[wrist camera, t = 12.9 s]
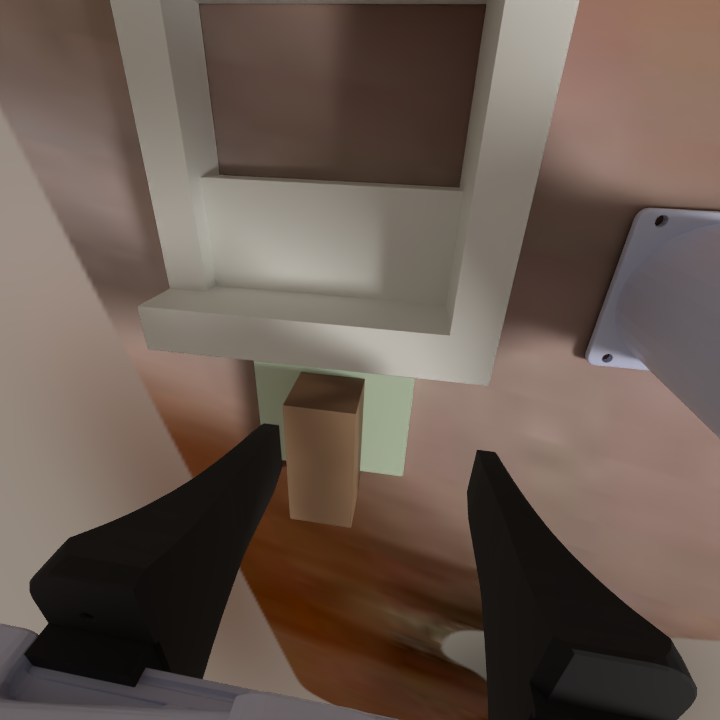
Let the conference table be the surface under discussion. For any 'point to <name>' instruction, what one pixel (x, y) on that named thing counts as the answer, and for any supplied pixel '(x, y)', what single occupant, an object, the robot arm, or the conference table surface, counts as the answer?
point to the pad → (380, 412)
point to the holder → (341, 213)
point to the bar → (324, 447)
